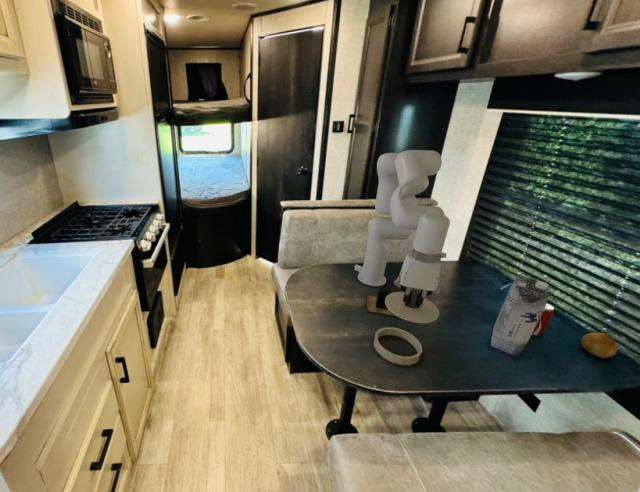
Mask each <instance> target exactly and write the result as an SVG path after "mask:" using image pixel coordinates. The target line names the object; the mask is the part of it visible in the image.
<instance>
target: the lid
mask: <svg viewBox="0 0 640 492" xmlns="http://www.w3.org/2000/svg"><path fill="white" fill-rule="evenodd" d="M419 294H420V290H419V289H415V288H411V290H410V300H409V304H408V306H405V302H403V297H404V292H403V291H395V292H391V294H389V295H387V297H386V298H385V304H386V306H387V308H388V309H389V310H390V311H391V312H392V313H393V314H395V315H396V316H395V317H397V318H401V319H403V320H405V321H407V322H412V323H415V324H416V323H417V324H431V323H433V322H434V323H435V321H437V320H438V319H439V317H440V310H439V308H438V307H437V306H436V304H434V303H433V302H432V301H430V299H428V298H427V297H426V298H424V300H423V304H422V305H420V308H417V307H416V305H417V301H418V298H419Z"/></svg>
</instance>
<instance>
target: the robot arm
mask: <svg viewBox="0 0 640 492" xmlns="http://www.w3.org/2000/svg"><path fill="white" fill-rule="evenodd" d="M442 164H443V161H442V156H441V154H440V153H439V152H438V151H436V150H429V149H423V150H422V149H408V150H404V151H400V152H387V153H383V154H381V155H379V157H378V159H377V162H376V173H377V176H378V185H377V191H376V198H375V204H374V208H375V212H376V213H377V214H379V215H383V216H375V217H371V219H370V220H369V221H368V224H367V243H366V246H365V247H366V248H365V253H364V259H363V264H362V266H361V265H359V264H355V265H354V271H355V272H358V274H357V280H358V281H360V282H361V283H362V284H364V285H367V286H370V287H379V286H384V285H386V284H387V278H386V276H385V272H386V267H387V262H388V259H389V253H390V245H389V243H388V242H387V241H386V240H398V241H399V240H400V241H403V240H404V241H405V240H408V239H410V237H411V235H412V232H413V230H415V235H414V239H413V243H412V247H411V251H410V252H409V253H407V254H406V256H405V258H404V261H403V263H402V266H401V268H400V272H399V276H398V277H397V278H396V279H395V280H394V281H393V285H394V286H396V287H397V288H399V289H400V290H401V292H404V297H403V302H405V306H408V304H409V300H410V291H411V290H412V289H415V290H419V292H420V294H419V298H418V301H417V305H416V307H417V308H420V305H422V304H423V300H424V298H426V299H427V297H429V296H430V295H433V294H439V293H441V289H440V285H439V282H440V277H441V271H442V259H447V253H445V252H443V249H444V245H445V243H446V238H447V235H448V232H449V229H450V225H451V219H450V218H449V217H447V216H446V215H445V212H444V210H443V209H442V208H441V207H440V206H437V205H424V204H418V201H417V198H416V195H419V194H421V193H422V192H424V191H425V190H426V189H427V188H428V186H429V184H430V183H429V182H430V181H429V176H434V175H436V174H438V173H439V172H440V171H441V168H442Z"/></svg>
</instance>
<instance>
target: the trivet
mask: <svg viewBox="0 0 640 492" xmlns="http://www.w3.org/2000/svg"><path fill="white" fill-rule="evenodd" d="M375 301H376V296H373V295H368V294H367V295H366V311H368V312H372V313H377V314H383V315H389V316H393V317H397V316H396V315H395V314H393V313H392V312H391V311H390V310H389V309H388V310H386V309H381V308H376V306H375Z"/></svg>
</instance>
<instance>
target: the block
mask: <svg viewBox="0 0 640 492" xmlns="http://www.w3.org/2000/svg"><path fill="white" fill-rule="evenodd" d="M391 293H392V287H391V286H390V287H389V286H384V285H382V286H377V292H376V295H375V297H376V301H375V306H376V308H381V309H386V310H388V308H387V306H386V304H385V298H386V297H387V295H389V294H391Z"/></svg>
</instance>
